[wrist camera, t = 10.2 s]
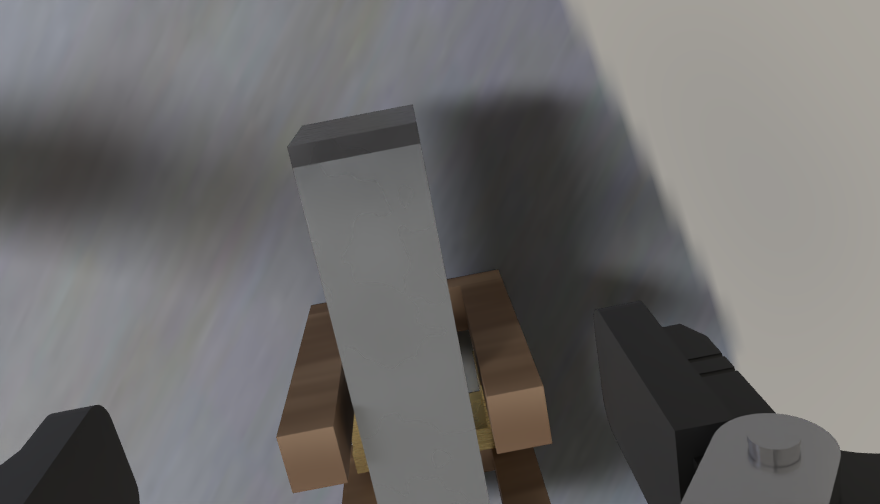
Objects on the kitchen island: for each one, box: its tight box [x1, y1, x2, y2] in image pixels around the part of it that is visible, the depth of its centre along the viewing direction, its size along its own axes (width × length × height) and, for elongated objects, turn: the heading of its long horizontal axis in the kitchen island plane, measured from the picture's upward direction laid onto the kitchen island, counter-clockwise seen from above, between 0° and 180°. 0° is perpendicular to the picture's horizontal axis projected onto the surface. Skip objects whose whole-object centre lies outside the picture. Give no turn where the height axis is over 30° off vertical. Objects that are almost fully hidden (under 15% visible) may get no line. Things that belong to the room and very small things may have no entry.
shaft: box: [287, 104, 490, 504], centre depth 25 cm, size 18×4×4 cm, turn 11°
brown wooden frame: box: [276, 270, 552, 504], centre depth 28 cm, size 9×8×10 cm
